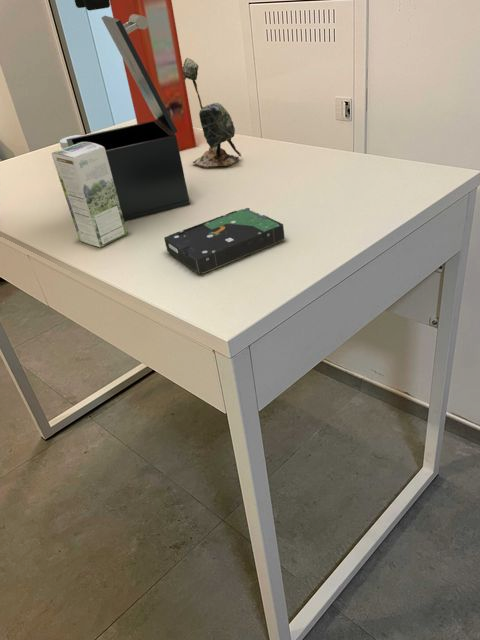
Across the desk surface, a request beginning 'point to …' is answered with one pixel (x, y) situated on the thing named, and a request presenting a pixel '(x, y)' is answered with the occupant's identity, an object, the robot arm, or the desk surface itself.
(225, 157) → the plant with pod
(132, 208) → the bin
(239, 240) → the disk drive
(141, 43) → the file binder
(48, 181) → the desk surface
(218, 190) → the desk surface
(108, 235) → the syrup box
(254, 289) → the desk surface
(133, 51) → the bin lid
